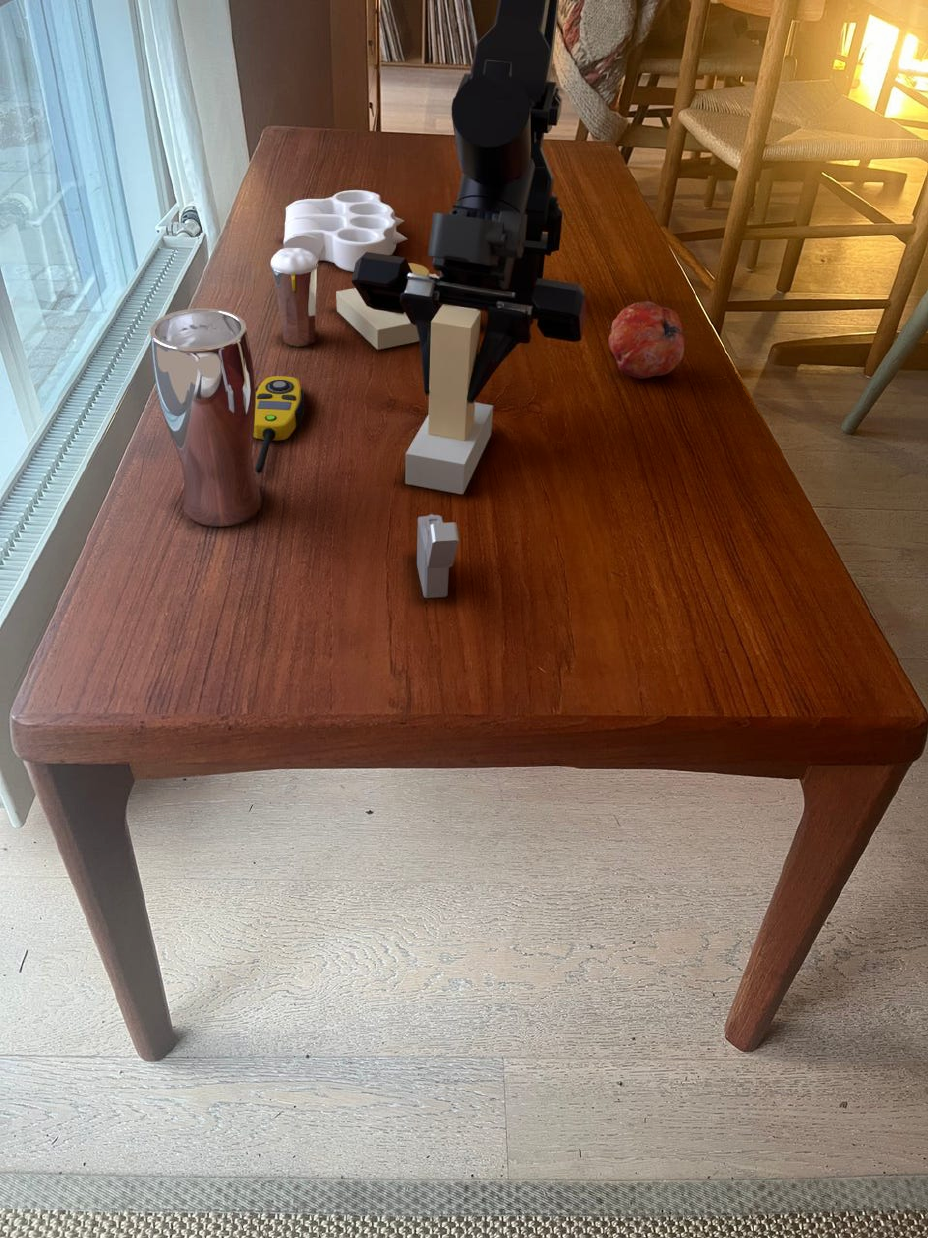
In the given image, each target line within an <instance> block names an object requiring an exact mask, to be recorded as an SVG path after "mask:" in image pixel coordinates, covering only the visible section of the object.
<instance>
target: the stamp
mask: <svg viewBox="0 0 928 1238" xmlns="http://www.w3.org/2000/svg"><path fill="white" fill-rule="evenodd" d="M481 319H482V310H480V311H476V310H469V309H463V308H457V307H451V306H444V305H442V307H441V308H440V310H439V311H438V313H437V314H436V315H435V317H434V318H433V320H432V321H431V349H430V384H429V396H428V415H427V416H426V418H425V420H424V421H423V423H422V425H421V426H420V428H419V429H418V431H417V433H416V434H415V437H414V439H413V440H412V441H411V444H410V445H409V447H408V449H407V450H406V452H405V484H406V485H410V486H414V487H419V488H420V487H421V488H425V489H429V490H431V489H432V490H436V491H441V492H446V493H451V494H456V495H464V493H465V491H466V489H467V487H468V485H469V483H470V480H471V479H472V477H473V474H474V472H475V470H476V468H477V466H478V464H479V461H480V459H481V457H482V455H483V453H484V451H485V449H486V447H487V445H488V442H489V440H490V438H491V436H492V430H493V429H492V428H493V418H494V417H493V414H494V405H493V404H492V405H491V404H486V403H481V402H476V400H475V401H474V402H473V403H468V401H467V395H468V390H469V385H470V379H471V376H472V373H473V369H474V366H475V363H476V360H477V357H478V354H479V351H480V338H481V337H480V334H481V321H482V320H481Z"/></svg>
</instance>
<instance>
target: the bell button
mask: <svg viewBox="0 0 928 1238" xmlns="http://www.w3.org/2000/svg"><path fill="white" fill-rule="evenodd" d="M408 264H409V266H410V268H411V270H412V273H413V274H420V275H426V276H429V274H430V270H429V269H428V268H427V267H426V266H424V265H422V264H418V263H413V262H408Z"/></svg>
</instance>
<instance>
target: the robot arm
mask: <svg viewBox="0 0 928 1238" xmlns="http://www.w3.org/2000/svg"><path fill="white" fill-rule="evenodd" d="M559 7H560V0H497V7H496V14H495V18H494V24H493V26H492V27H491V28H490V29H489V30H488V31H487V32H486V33H485V34H484V35H483V36H482V37H481V38H480V39H479V40H478V41H477V42H476V45H475V49H474V53H473V59H472V64H471V69H470V73H467V72H465V73H463V76H462V79H461V81H460V84H459V86H458V89H457V91H456V93H455V95H454V97H453V99H452V101H451V108H450V109H451V121H452V127H453V129H452V130H453V135H454V141H455V146H456V147H455V148H456V154H457V155H456V156H457V161H458V164H459V168H460V171H461V172H462V175H461V179H460V184H459V188H458V191H457V196H456V201H455V204H453V205H452V207H451V209H450V212H449V213H444V212H433V216H432V223H431V231H430V237H429V246H428V252H427V257H428V258H431V259H432V258H433V260H432V266H433V268H434V270H435V271H436V272H437V271H438V272H439V276H438V277H439V278H434V277H431V276H426V275H420V274H413V273H412V270H411V268H410V266H409V264H408V263H409V262H408V260H407V258H406V257H403V256H396V255H384V254H377V253H371V252H366V253H365V254H364V255H362V256H361V257H360V258H359V259H358V260H357V262H356V263H355V268H354V272H353V273H352V277H351V283H352V285H353V286H354V288H356V290H357V291H358V293H359V294H360V296H361V298H362V299H363V301H364V302H365V304H366V306H368V307H370V308H372V309H374V310H381V311H387V312H393V313H399V314H403V313H406V315H407V317H408V319H409V321H410V322H411V323H412V324H413V325H416V327H417V331H418V336H419V341H418V342H419V348H420V358H421V359H420V360H421V369H422V381H423V389H424V391H423V392H424V393H425V395H426V397H429V384H430V349H431V321H432V320H433V318H434V317H435V315H436V314H437V313H438V311H439V310H440V308H441V307H442V305H443V304H446V305H453V306H459V307H465V308H471V309H478V310H480V311H485V312H488V314H487V320H486V327H485V332H484V335H483V339H482V342H481V345H480V347H479V352H478V357H477V360H476V363H475V366H474V369H473V373H472V376H471V379H470V385H469V390H468V395H467V401H468V403H473V402H474V401H475V402H476V400H477V398H478V397H479V395H480V393H481V392H482V391H483V389H484V388H485V386H486V385H487V384H488V382H489V381H490V379H491V378H492V376H493V375H494V373H495V372H496V370H497V369H498V367H499V366H500V365H501V364H502V362H503V361H504V360H505V359H506V358H507V357H508V356H509V355H510V354H511V353H512V352H513V350H514V349H515V348H516V347H517V346H518V345H519V344H525V345H526V344H530V343H531V340H532V334H531V333H532V332H531V327H532V325H534V320H537V322H536V326H537V328H538V330H539V331H540V333H541V334H542V335H543V337H544V338H546V339H547V338H548V339H553V340H561V341H566V342H574V343H576V342H581V341H582V337H583V331H584V328H585V323H586V316H587V303H586V292H585V291H584V289H583V288H582V285H581V284H580V283H575V282H574V283H573V282H567V281H560V280H553V279H549V278H548V279H547V278H543V277H544V269H545V260H546V256H547V257H551V256H552V253H553V252H557V251H560V245H561V236H562V227H563V225H562V223H563V210H562V209H561V207H560V202H558V201H559V196H558V195H555V194H553V190H554V184H555V183H554V181H555V178H554V177H555V176H554V174H553V172H552V171H553V170H552V169H551V166H550V163H549V161H548V159H547V156H546V154H545V151H544V139H545V134H546V135H547V134H549V133H550V132H551V131H552V129H553V126H554V127H557V126H558V122H559V119H560V117H561V114H562V106H563V98H562V97H561V95H560V94H559V90H560V89H559V87H558V82H557V81H551V78H552V68H553V62H554V61H553V60H554V59H553V58H554V52H555V43H556V33H557V24H558V15H559Z"/></svg>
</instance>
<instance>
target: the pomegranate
mask: <svg viewBox="0 0 928 1238" xmlns="http://www.w3.org/2000/svg"><path fill="white" fill-rule="evenodd" d="M610 328H611V329H610V334H609V335H608V347H609V349H610V351H611V353H612V354H613V356H614V359H615V362H616V364H617V366H618V369H619V370H620V372H622V373H624V374H625V375H627V376H630V377H632V378H634V379H639V380H641V379H642V380H645V379H648V378H652V377H660V376H665V375H667V374H669V373H670V372H671V371H674V370H675V368H677V366H678V365H679V364H680V362H681V360H682V359H683V357H684V352H685V338H684V335H683V334H684V332H683V331H682V329H683V325H682V323H681V320H680V318H679V315H678V313H677V312H676V311H675V310H674V309H671V308H668V307H662V306H660V305H658V304H657V303H655V302H653V301H649V300H646V301H642V302H641V301H637V302H635V303H632V304H630V305H628V306H627V307H624V308H623V309H622V310H621V311H620V312H619V314H618V315H617V316H616V317H615V318H614V320H613V321H611V327H610Z"/></svg>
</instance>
